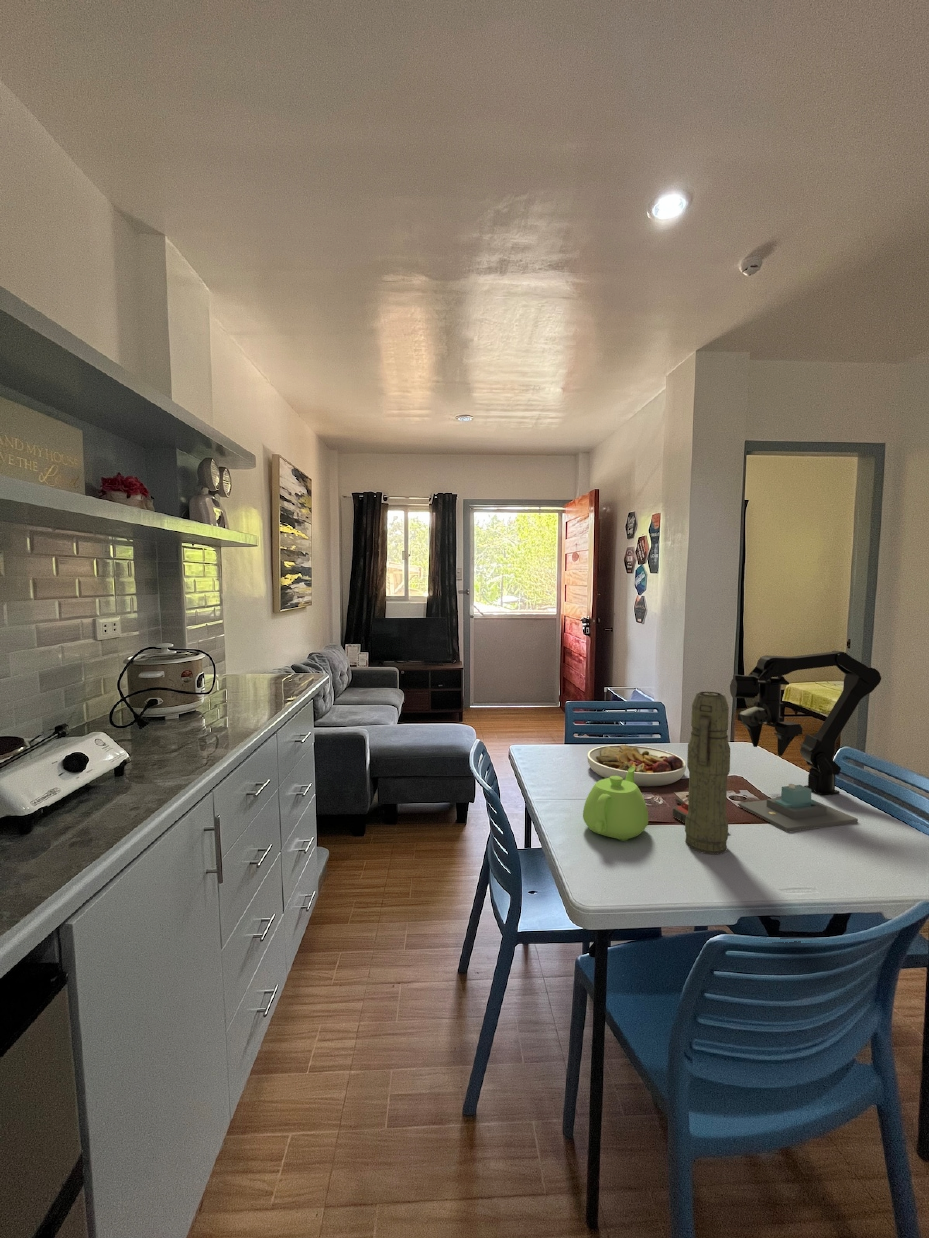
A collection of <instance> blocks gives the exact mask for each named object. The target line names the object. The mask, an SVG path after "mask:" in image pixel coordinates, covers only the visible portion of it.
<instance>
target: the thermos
mask: <svg viewBox="0 0 929 1238" xmlns="http://www.w3.org/2000/svg"><path fill="white" fill-rule="evenodd" d="M729 709H730V707H729V703H728V701H727V697H726V696H725V695H724V694H722V693H720V692H716V691H699V692H697V693H695V696H694V699H693V700H692V704H691V724H690V727H691V731H690V739H689V741H688V743H687V756H686V757H687V761H686V768H687V769H688V772H689V773H688V798H687V799H688V801H687V802H688V814H687V816H686V818H685V824H684V832H685V844H686V846H687V847H688V848H690V849H691V850H694V851H695V852H699V853H701V852H703V853H702V854H706V855H721V853H722V854H725V852H727V850H728V849H727V847H728V846H727V841H728V838H729V821H728V817H727V791H728V790H727V789H728V776H729V773H730V771H731V770H730V767H731V746H730V744H729V739H728V738H729V736H728V731H729V712H730V711H729ZM726 849H727V850H726Z"/></svg>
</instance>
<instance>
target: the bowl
mask: <svg viewBox="0 0 929 1238" xmlns="http://www.w3.org/2000/svg"><path fill="white" fill-rule="evenodd" d="M586 757H587V763H588V765H589V767H590V769H591V770H592V771H593V772H594V773H595V774H596V775H598V776H600V777H602V778H603V779H606V778H609V777H610V776H620V777H622V778H623V780H625V779H626V776H627V772H628V770H629V768H630V767H632V766H633V767H635V772H634V784H636V785H637V786H638V787H659V786H667V785H670V784H673V783H676V782H677V781H680V779H682V778H683V776H684V775H685V773H686V769H687V761H686V760H685V759H683V758H682V757H681V756H679V755H677V754H675V753H672V752H670V751H666V750H663V749H659V748H655V747H651V746H650V747H648V746H640V745H632V744H614V745H613V744H612V745H603V746H599V747H594V748H592V749H591V750H589V751H588V752H587V756H586Z"/></svg>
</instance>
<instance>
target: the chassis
mask: <svg viewBox="0 0 929 1238" xmlns="http://www.w3.org/2000/svg"><path fill="white" fill-rule="evenodd" d="M775 800H781V797H773V798H767V799H765V800H764V799H763V800H755V801H747V802H738V803H737V806H738V805H739V806H740V807H741V808H744V809H746V810H747V811H750V812H752V813H753V814H756V815H758V816H760V817H761V818H763V819H765V820H766V821H768V822H770V823H769V824H770V825H772V826H775V827H776V828H778V829H780V830H782V831H784V832H786V833H790V832H796V831H797V832H798V831H806V830H811V829H812V830H813V829H819V828H827V827H834V826H835V827H836V826H842V825H844V826H845V825H848V824H849V825H850V824H856V823H858V820H859V819H858V818H857V817H854V816H851V815H850V814H847V813H845V812H843V811H840V810H838V809H835V808H833V807H831V806H828V805H826V804H824V803H821V802H820V801H819V802H818V801H817V804H811V807H803V808H795V809H793V808H791V807H787V808H786V807H784V806H781V805H779V804H777V803H775ZM741 808H740V809H741ZM747 811H746V812H747ZM753 814H752V815H753ZM761 818H760V819H761ZM763 819H762V820H763ZM766 821H765V822H766ZM768 822H767V823H768Z"/></svg>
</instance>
